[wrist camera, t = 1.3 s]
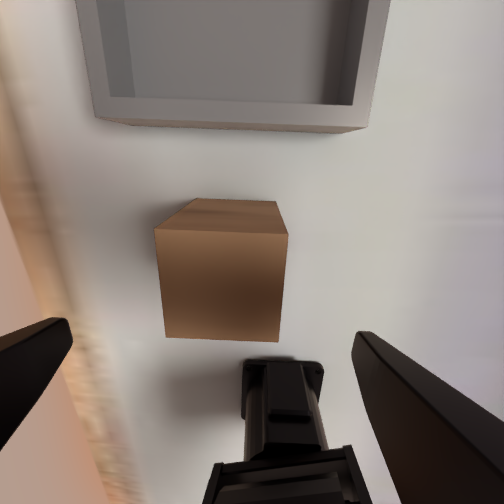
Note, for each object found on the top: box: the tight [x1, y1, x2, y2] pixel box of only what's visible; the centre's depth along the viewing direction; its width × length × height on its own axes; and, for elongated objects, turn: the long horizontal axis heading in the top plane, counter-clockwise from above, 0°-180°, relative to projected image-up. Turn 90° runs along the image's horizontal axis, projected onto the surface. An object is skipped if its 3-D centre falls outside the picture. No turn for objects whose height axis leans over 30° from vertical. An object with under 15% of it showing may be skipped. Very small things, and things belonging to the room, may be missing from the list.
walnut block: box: [154, 198, 288, 342], centre depth 13 cm, size 5×5×7 cm
